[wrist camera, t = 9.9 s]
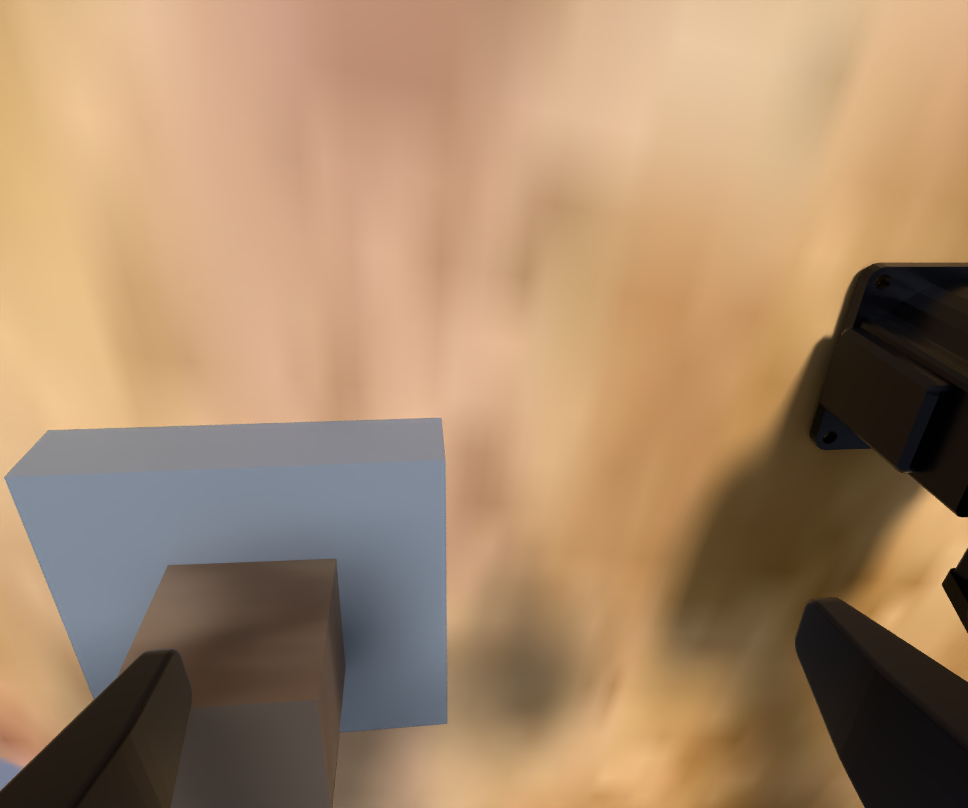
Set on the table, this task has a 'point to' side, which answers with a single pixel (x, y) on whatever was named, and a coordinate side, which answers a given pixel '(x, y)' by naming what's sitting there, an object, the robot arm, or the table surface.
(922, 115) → the table surface
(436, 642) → the slate block
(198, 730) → the walnut cube
